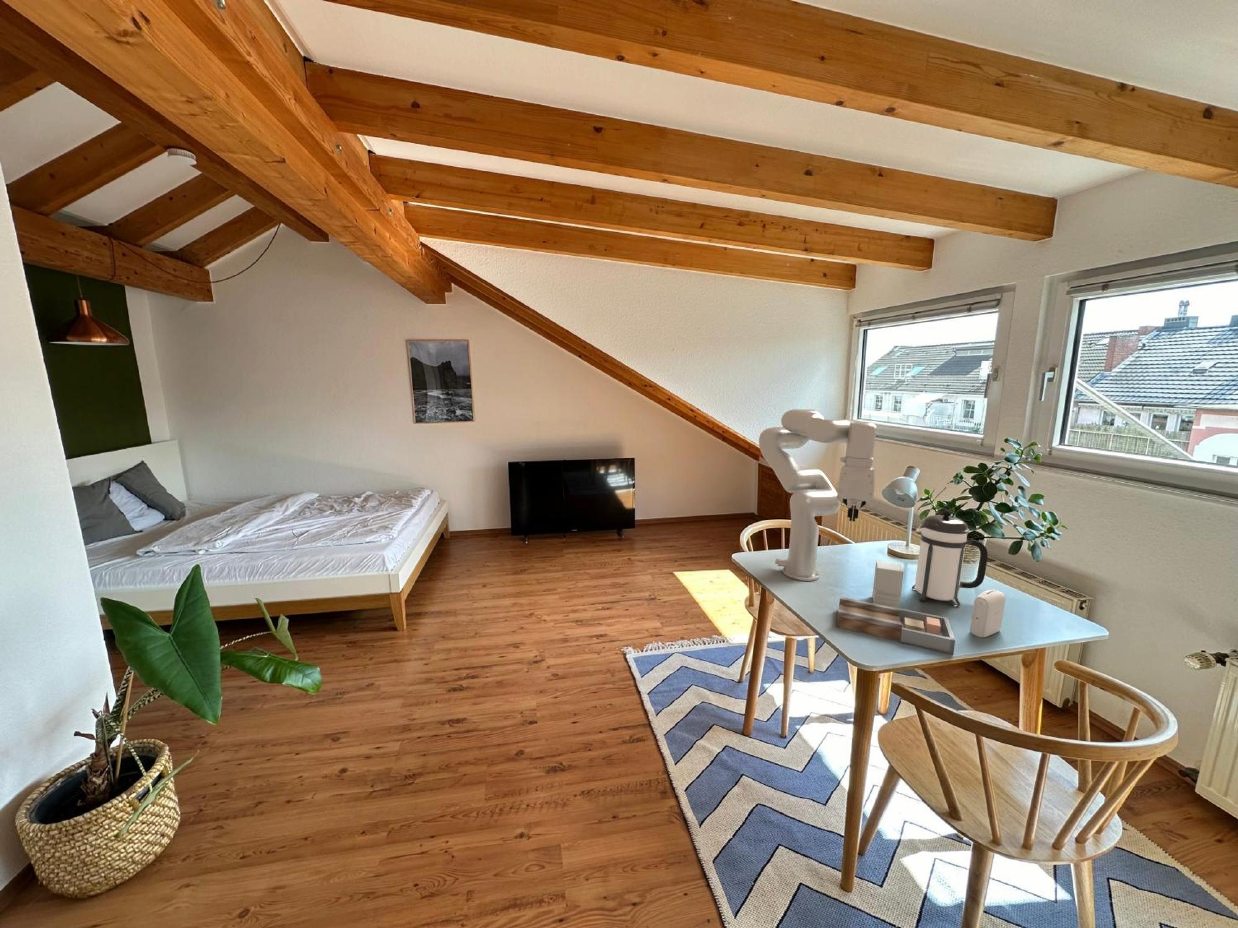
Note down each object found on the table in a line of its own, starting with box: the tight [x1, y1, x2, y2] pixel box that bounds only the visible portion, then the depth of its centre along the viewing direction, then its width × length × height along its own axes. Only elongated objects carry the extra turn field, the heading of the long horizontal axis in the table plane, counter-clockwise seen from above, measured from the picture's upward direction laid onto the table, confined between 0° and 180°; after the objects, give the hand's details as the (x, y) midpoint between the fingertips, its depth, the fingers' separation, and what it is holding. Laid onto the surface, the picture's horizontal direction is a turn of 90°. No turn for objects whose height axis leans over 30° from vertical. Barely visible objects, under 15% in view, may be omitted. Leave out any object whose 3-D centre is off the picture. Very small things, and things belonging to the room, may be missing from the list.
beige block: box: [903, 618, 924, 632], centre depth 136 cm, size 4×4×3 cm
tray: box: [899, 607, 956, 656], centre depth 135 cm, size 12×14×4 cm
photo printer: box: [969, 589, 1006, 638], centre depth 138 cm, size 10×4×12 cm, turn 118°
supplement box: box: [871, 560, 905, 608], centre depth 155 cm, size 7×7×13 cm
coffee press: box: [911, 509, 989, 608], centre depth 158 cm, size 17×16×30 cm
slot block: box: [836, 596, 902, 642], centre depth 141 cm, size 16×12×4 cm
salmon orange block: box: [924, 617, 941, 635], centre depth 134 cm, size 4×4×3 cm
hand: (852, 520), depth 153 cm, fingers closed
